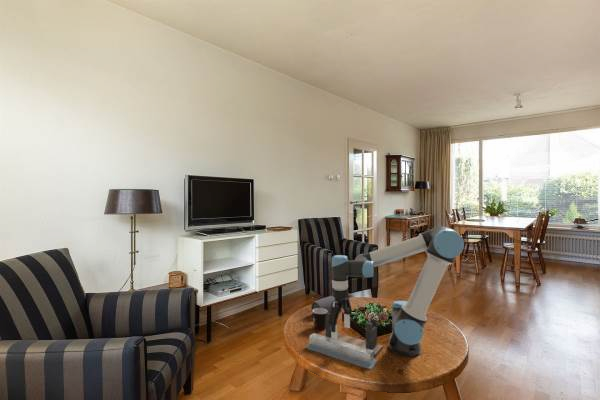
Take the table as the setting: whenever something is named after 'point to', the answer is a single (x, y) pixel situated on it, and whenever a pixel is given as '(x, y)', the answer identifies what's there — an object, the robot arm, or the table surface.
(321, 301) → the bluetooth speaker
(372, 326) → the wooden stand
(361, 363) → the mat
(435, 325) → the table surface
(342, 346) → the rail
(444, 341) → the table surface
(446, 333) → the table surface
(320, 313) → the coffee mug
